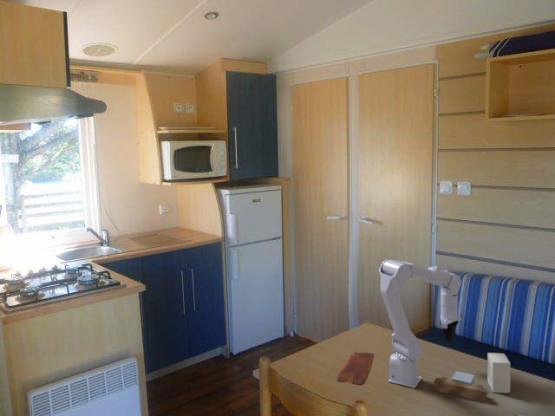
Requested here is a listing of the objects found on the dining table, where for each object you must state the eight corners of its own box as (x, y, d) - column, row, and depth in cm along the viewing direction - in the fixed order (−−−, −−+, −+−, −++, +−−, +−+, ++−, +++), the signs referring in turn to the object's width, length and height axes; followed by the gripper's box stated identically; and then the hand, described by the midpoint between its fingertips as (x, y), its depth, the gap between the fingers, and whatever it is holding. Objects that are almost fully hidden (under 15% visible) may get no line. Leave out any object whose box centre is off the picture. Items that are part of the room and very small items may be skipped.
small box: (510, 393, 161) (510, 363, 160) (492, 392, 162) (492, 362, 161) (504, 381, 169) (504, 352, 168) (487, 381, 170) (487, 352, 169)
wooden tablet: (363, 387, 171) (363, 382, 171) (335, 383, 175) (335, 378, 175) (377, 355, 196) (377, 351, 196) (352, 352, 200) (352, 348, 199)
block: (451, 391, 165) (451, 378, 164) (456, 383, 170) (456, 371, 169) (470, 395, 162) (470, 382, 161) (474, 387, 167) (474, 375, 166)
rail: (434, 390, 166) (434, 380, 165) (437, 385, 169) (437, 375, 168) (484, 402, 157) (484, 392, 156) (487, 396, 160) (487, 386, 160)
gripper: (455, 312, 170) (455, 350, 172) (465, 300, 182) (465, 335, 184) (434, 309, 174) (435, 346, 176) (445, 298, 186) (446, 332, 188)
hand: (449, 340), depth 180 cm, fingers closed
